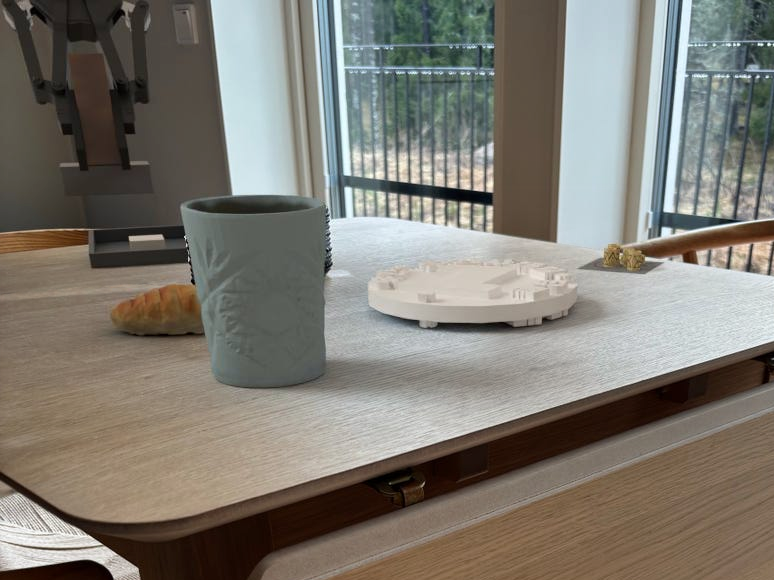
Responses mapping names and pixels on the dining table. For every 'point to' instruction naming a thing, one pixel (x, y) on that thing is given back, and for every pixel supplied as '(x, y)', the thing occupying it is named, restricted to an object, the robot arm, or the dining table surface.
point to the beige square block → (147, 242)
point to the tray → (116, 250)
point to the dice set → (622, 261)
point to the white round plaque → (473, 292)
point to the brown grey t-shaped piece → (99, 137)
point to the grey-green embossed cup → (260, 286)
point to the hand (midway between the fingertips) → (103, 159)
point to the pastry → (161, 312)
